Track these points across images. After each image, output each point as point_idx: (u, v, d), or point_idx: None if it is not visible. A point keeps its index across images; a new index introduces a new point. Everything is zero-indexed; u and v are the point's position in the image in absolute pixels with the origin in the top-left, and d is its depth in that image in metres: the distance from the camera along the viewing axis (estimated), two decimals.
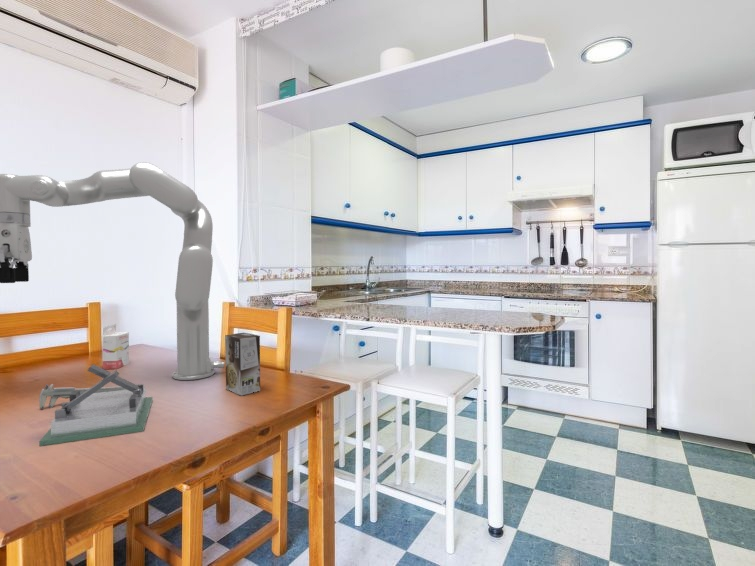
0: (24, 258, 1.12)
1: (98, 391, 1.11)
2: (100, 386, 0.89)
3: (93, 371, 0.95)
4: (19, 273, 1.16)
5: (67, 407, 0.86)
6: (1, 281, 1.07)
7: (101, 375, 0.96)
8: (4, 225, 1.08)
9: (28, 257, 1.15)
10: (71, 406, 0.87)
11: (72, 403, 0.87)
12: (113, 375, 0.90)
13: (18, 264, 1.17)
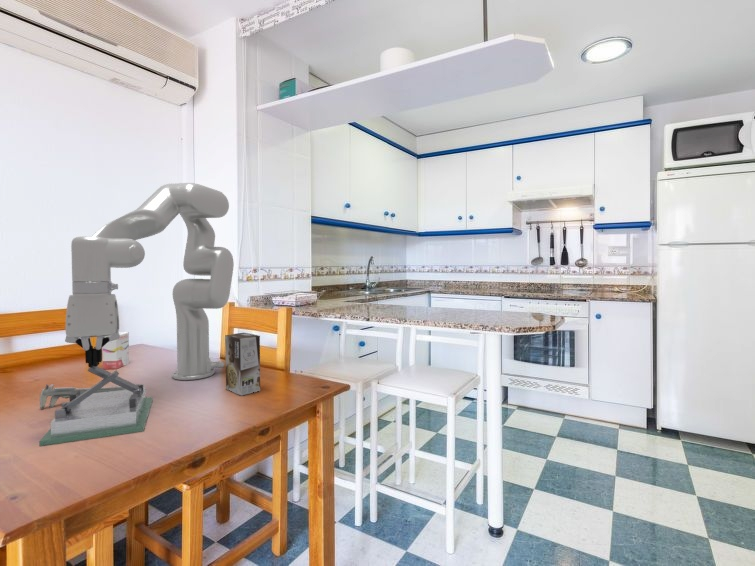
0: None
1: (98, 391, 1.11)
2: (100, 386, 0.89)
3: (93, 371, 0.95)
4: None
5: (67, 407, 0.86)
6: (96, 364, 0.96)
7: (101, 375, 0.96)
8: (114, 296, 0.98)
9: None
10: (71, 406, 0.87)
11: (72, 403, 0.87)
12: (113, 375, 0.90)
13: None
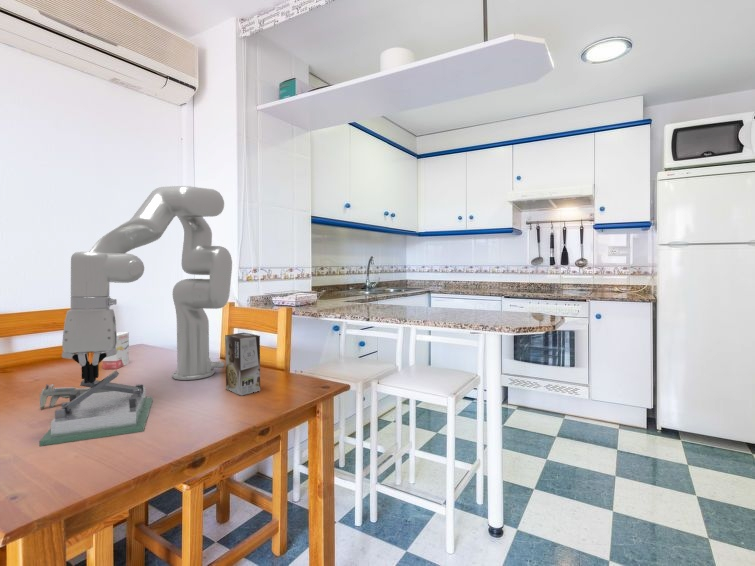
0: None
1: (98, 391, 1.11)
2: (100, 386, 0.89)
3: (86, 385, 0.95)
4: None
5: (67, 407, 0.86)
6: (93, 380, 0.95)
7: None
8: (112, 311, 0.97)
9: None
10: (71, 406, 0.87)
11: (72, 403, 0.87)
12: (113, 375, 0.90)
13: None
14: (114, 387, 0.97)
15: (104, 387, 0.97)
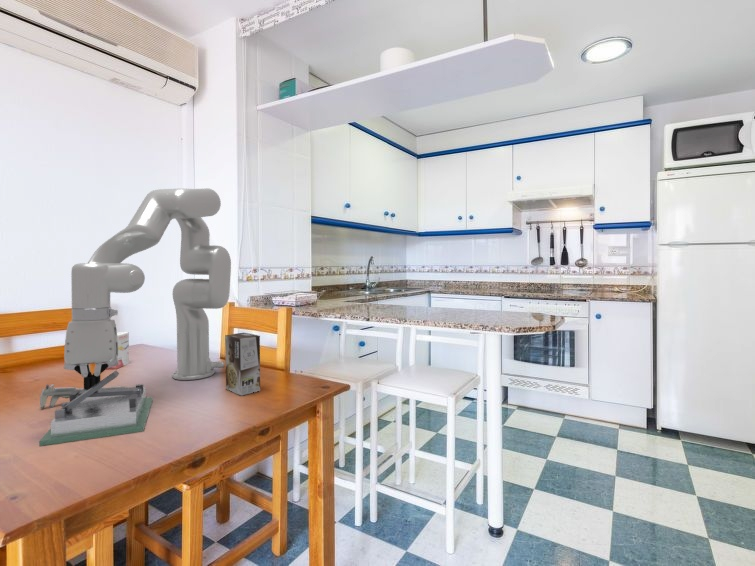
0: None
1: None
2: (100, 386, 0.89)
3: None
4: None
5: (67, 407, 0.86)
6: None
7: (94, 395, 0.96)
8: (113, 322, 0.97)
9: None
10: (71, 406, 0.87)
11: (72, 403, 0.87)
12: (113, 375, 0.90)
13: None
14: (113, 392, 0.97)
15: (102, 394, 0.96)
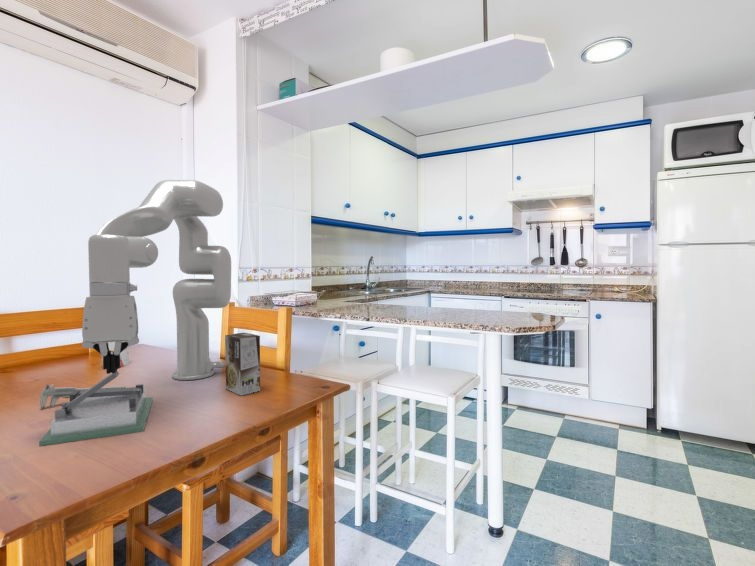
0: None
1: None
2: (100, 386, 0.89)
3: None
4: None
5: (67, 407, 0.86)
6: (115, 371, 0.90)
7: (94, 395, 0.96)
8: (133, 298, 0.91)
9: None
10: (71, 406, 0.87)
11: (72, 403, 0.87)
12: (113, 375, 0.90)
13: None
14: (113, 392, 0.97)
15: (102, 394, 0.96)
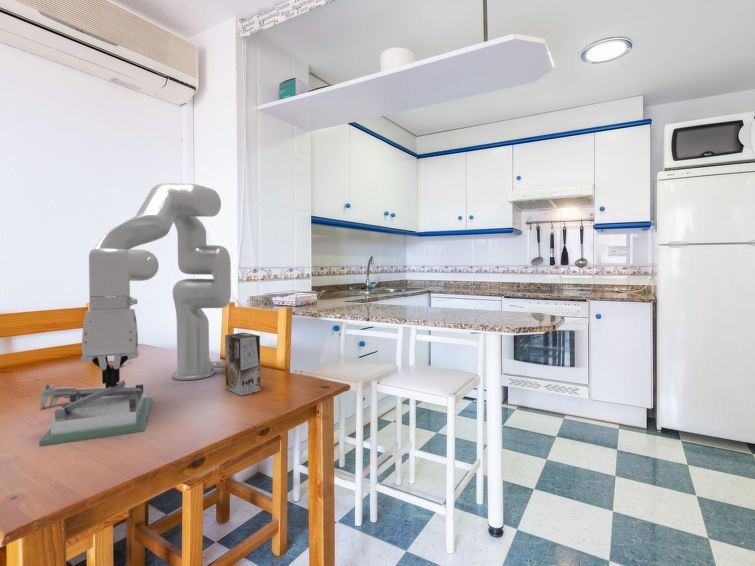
0: None
1: None
2: (105, 393, 0.89)
3: (84, 396, 0.95)
4: None
5: (68, 408, 0.86)
6: (114, 385, 0.89)
7: None
8: (133, 311, 0.91)
9: None
10: (72, 408, 0.87)
11: (74, 405, 0.87)
12: (120, 385, 0.90)
13: None
14: (113, 392, 0.97)
15: None
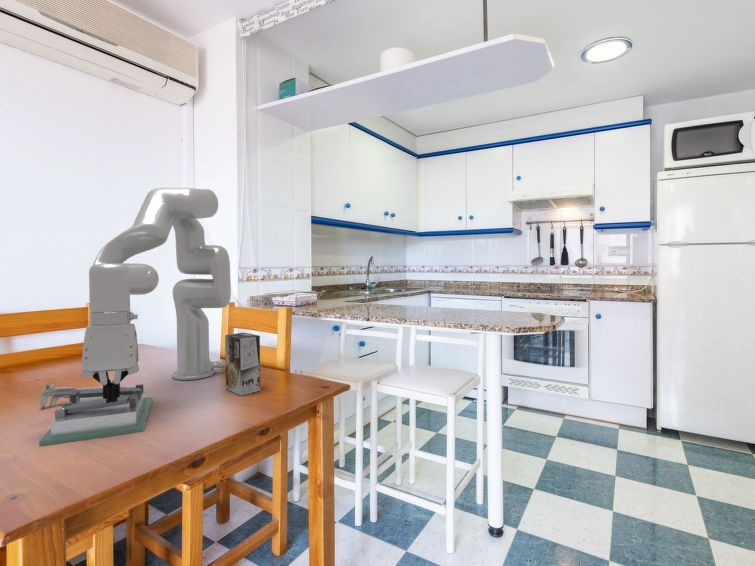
0: None
1: None
2: (108, 405, 0.89)
3: (84, 396, 0.95)
4: None
5: (69, 410, 0.86)
6: (115, 400, 0.90)
7: (94, 395, 0.96)
8: (133, 326, 0.91)
9: None
10: (73, 411, 0.87)
11: (75, 408, 0.87)
12: (125, 401, 0.91)
13: None
14: None
15: (102, 394, 0.96)
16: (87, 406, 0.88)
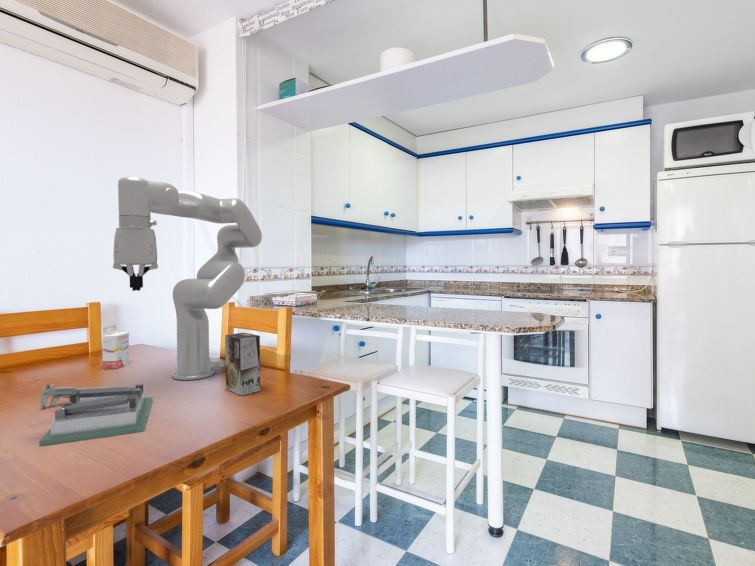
0: None
1: None
2: (108, 405, 0.89)
3: (84, 396, 0.95)
4: None
5: (69, 410, 0.86)
6: (139, 289, 1.11)
7: (94, 395, 0.96)
8: (153, 230, 1.13)
9: None
10: (73, 411, 0.87)
11: (75, 408, 0.87)
12: (125, 401, 0.91)
13: None
14: (113, 392, 0.97)
15: (102, 394, 0.96)
16: (87, 406, 0.88)
